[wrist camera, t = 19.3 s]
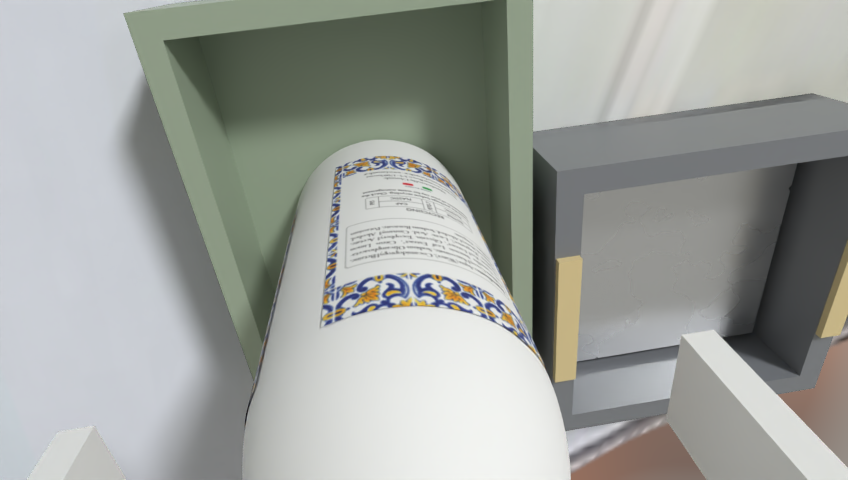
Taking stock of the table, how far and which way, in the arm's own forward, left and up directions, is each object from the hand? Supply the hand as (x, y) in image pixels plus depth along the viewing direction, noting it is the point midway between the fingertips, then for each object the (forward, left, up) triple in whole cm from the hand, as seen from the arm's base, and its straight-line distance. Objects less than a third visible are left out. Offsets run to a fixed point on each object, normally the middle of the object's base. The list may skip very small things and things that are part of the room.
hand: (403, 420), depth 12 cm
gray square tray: (-13, +4, -12) cm, 18 cm away
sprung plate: (-13, +4, -11) cm, 17 cm away
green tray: (0, 0, -12) cm, 12 cm away
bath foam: (0, 0, -11) cm, 11 cm away
